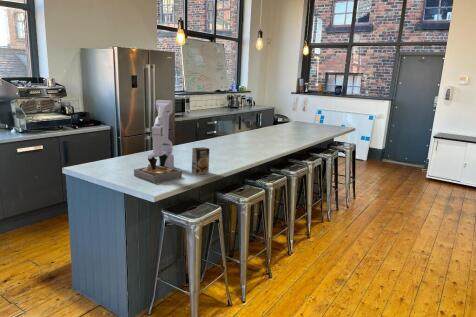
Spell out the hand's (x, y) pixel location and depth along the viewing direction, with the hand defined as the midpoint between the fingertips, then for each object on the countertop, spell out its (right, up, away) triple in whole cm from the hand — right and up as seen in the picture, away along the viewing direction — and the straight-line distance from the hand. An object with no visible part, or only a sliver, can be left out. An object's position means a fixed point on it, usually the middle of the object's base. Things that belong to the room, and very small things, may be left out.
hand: (157, 168), depth 216 cm
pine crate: (-1, -4, +1) cm, 4 cm away
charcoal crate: (0, -5, +1) cm, 5 cm away
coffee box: (+24, -4, +13) cm, 27 cm away
